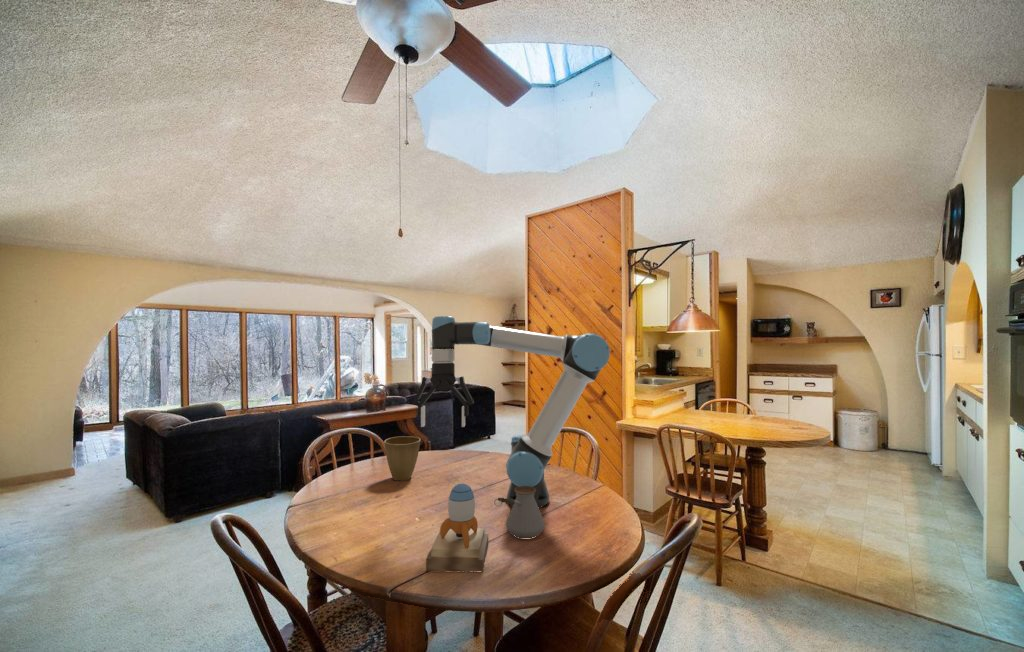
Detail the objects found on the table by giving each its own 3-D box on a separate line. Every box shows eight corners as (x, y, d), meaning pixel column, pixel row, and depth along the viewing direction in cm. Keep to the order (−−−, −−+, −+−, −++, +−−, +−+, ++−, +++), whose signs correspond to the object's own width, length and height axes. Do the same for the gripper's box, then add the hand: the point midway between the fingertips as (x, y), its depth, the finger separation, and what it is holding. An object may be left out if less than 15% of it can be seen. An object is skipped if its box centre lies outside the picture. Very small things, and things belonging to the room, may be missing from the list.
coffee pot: (518, 522, 131) (517, 473, 131) (551, 530, 125) (550, 479, 125) (479, 551, 112) (479, 495, 113) (516, 562, 106) (516, 502, 107)
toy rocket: (476, 553, 103) (463, 495, 102) (436, 556, 105) (423, 500, 104) (486, 529, 113) (474, 476, 112) (449, 532, 115) (437, 481, 114)
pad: (488, 545, 116) (488, 526, 116) (482, 572, 102) (482, 551, 102) (438, 544, 116) (438, 526, 117) (426, 571, 102) (426, 550, 103)
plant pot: (377, 483, 169) (377, 443, 170) (393, 472, 184) (393, 435, 185) (412, 484, 167) (412, 444, 168) (425, 473, 181) (425, 436, 182)
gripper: (481, 361, 143) (481, 424, 142) (409, 362, 144) (409, 424, 143) (478, 362, 136) (479, 428, 135) (403, 363, 137) (402, 428, 136)
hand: (443, 426), depth 139 cm, fingers open, 13 cm apart
